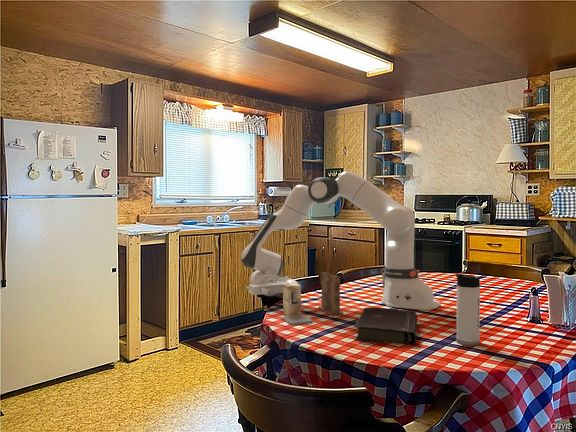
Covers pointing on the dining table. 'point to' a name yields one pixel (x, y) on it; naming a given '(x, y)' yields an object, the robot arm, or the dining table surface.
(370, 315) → the diary
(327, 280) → the screen
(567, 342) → the dining table surface
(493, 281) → the dining table surface
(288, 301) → the tan boxy piece
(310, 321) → the slate coaster
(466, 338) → the travel mug
